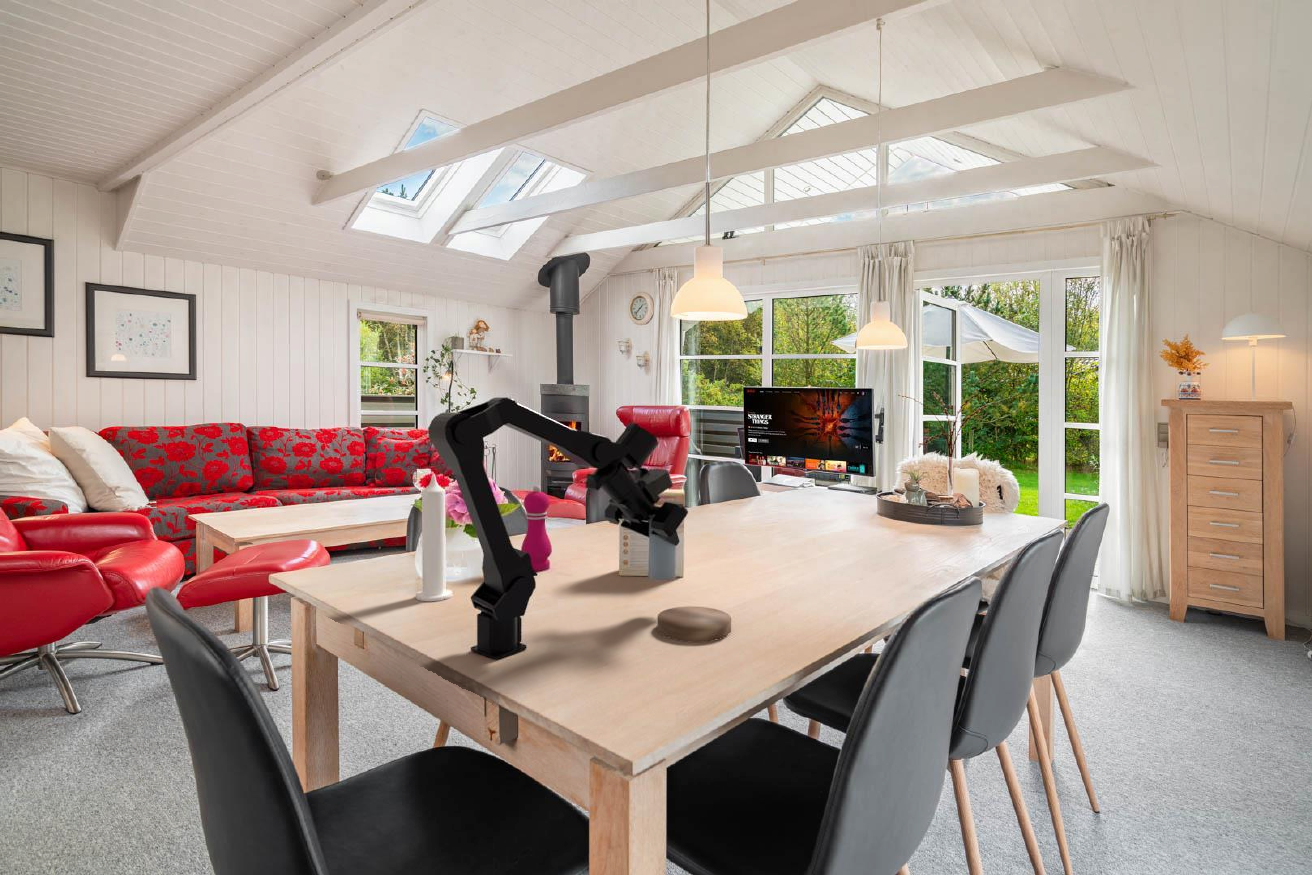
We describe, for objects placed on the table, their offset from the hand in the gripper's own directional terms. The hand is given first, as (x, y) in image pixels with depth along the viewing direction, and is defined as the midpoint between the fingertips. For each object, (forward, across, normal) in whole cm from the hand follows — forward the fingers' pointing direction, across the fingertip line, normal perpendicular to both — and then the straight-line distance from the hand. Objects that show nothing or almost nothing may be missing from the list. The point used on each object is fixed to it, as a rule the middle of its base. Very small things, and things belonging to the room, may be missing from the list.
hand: (668, 541), depth 134 cm
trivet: (+7, -11, +12) cm, 18 cm away
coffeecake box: (+21, +25, -2) cm, 33 cm away
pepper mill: (+8, +45, +12) cm, 47 cm away
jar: (+4, 0, +6) cm, 7 cm away
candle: (-13, +36, +32) cm, 50 cm away
